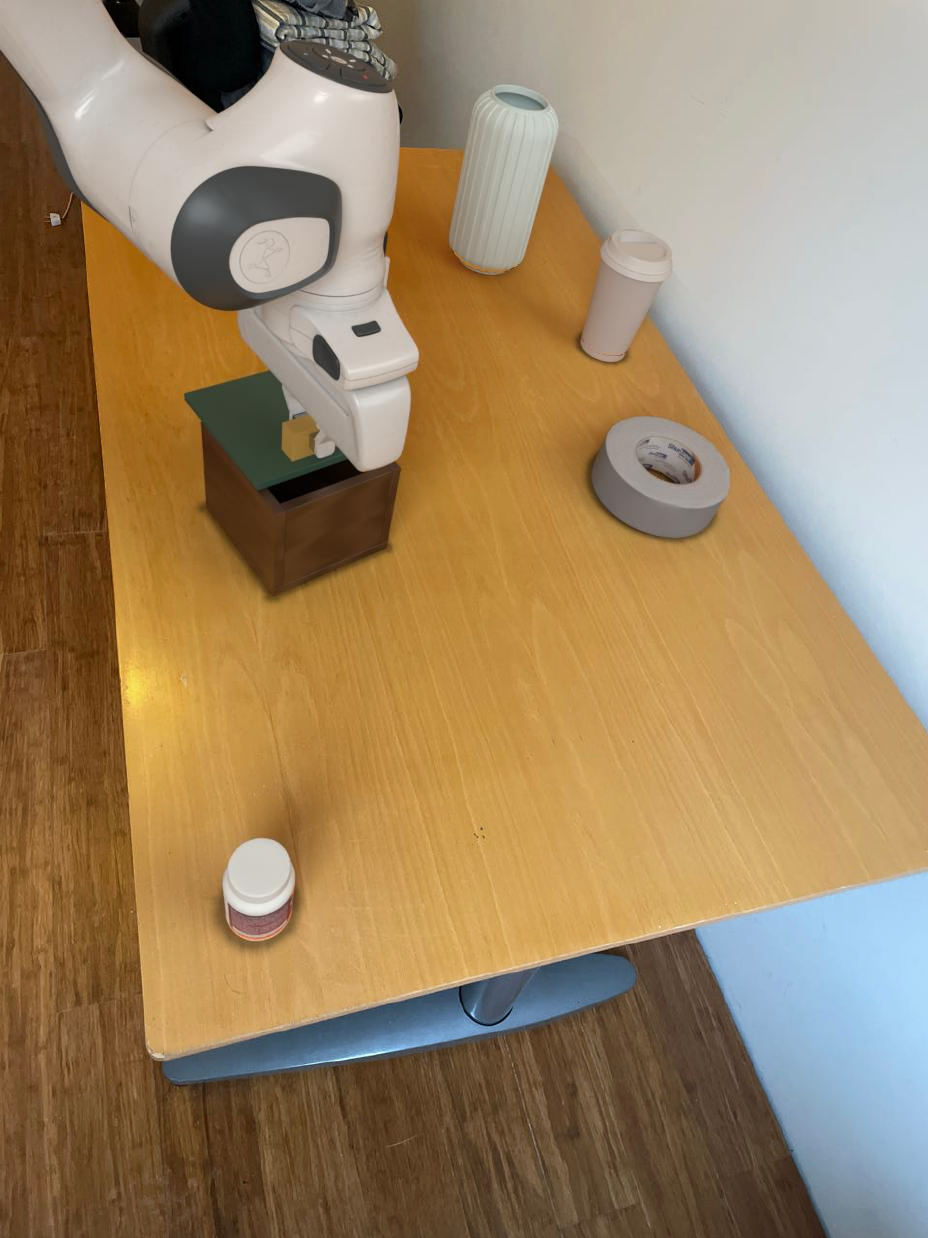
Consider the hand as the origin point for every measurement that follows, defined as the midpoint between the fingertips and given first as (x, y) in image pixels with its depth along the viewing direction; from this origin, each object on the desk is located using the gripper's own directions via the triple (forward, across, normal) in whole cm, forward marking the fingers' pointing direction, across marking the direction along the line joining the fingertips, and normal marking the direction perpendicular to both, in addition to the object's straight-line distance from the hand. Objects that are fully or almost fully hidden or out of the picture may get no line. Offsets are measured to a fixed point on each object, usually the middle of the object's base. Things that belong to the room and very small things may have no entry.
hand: (311, 440), depth 72 cm
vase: (+13, -36, +52) cm, 65 cm away
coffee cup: (+13, -12, +55) cm, 58 cm away
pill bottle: (+13, +30, -22) cm, 39 cm away
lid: (+2, -4, 0) cm, 5 cm away
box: (+13, -2, 0) cm, 13 cm away
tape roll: (+13, +12, +40) cm, 44 cm away
